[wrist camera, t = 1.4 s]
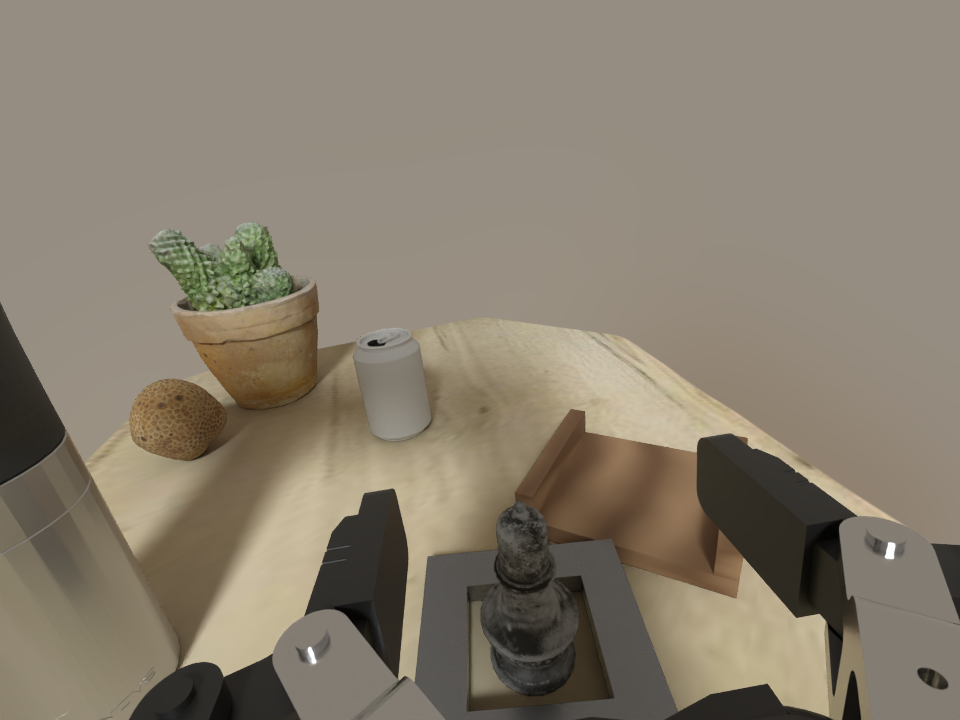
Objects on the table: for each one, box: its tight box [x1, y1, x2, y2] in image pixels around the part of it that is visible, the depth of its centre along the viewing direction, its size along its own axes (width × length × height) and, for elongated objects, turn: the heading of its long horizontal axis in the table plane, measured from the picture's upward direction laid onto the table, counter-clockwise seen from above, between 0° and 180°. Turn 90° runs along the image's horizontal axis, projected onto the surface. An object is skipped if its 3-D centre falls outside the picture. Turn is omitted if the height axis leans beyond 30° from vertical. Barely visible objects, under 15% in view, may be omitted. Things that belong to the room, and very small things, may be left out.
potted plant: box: [148, 222, 319, 410], centre depth 64 cm, size 18×19×25 cm
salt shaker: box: [481, 500, 579, 696], centre depth 27 cm, size 6×6×12 cm
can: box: [353, 328, 431, 441], centre depth 53 cm, size 8×8×12 cm
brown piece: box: [515, 409, 748, 598], centre depth 39 cm, size 16×14×4 cm
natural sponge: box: [129, 379, 227, 460], centre depth 53 cm, size 9×9×10 cm
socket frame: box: [415, 539, 678, 720], centre depth 29 cm, size 14×14×2 cm
